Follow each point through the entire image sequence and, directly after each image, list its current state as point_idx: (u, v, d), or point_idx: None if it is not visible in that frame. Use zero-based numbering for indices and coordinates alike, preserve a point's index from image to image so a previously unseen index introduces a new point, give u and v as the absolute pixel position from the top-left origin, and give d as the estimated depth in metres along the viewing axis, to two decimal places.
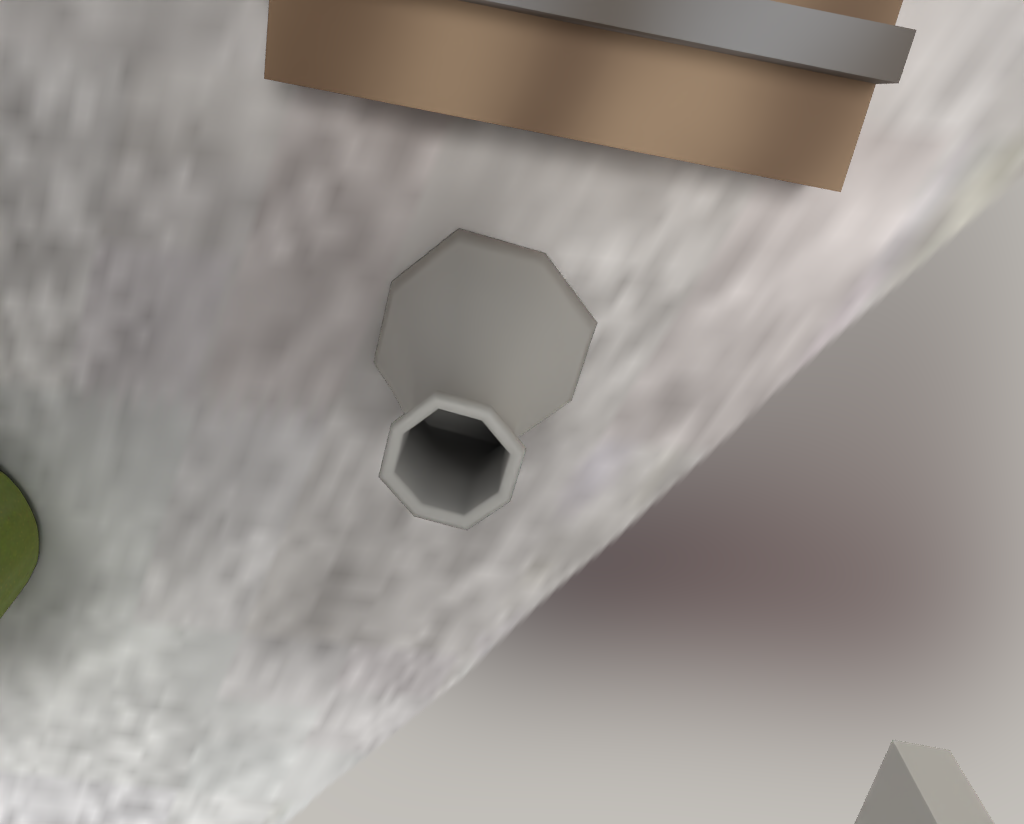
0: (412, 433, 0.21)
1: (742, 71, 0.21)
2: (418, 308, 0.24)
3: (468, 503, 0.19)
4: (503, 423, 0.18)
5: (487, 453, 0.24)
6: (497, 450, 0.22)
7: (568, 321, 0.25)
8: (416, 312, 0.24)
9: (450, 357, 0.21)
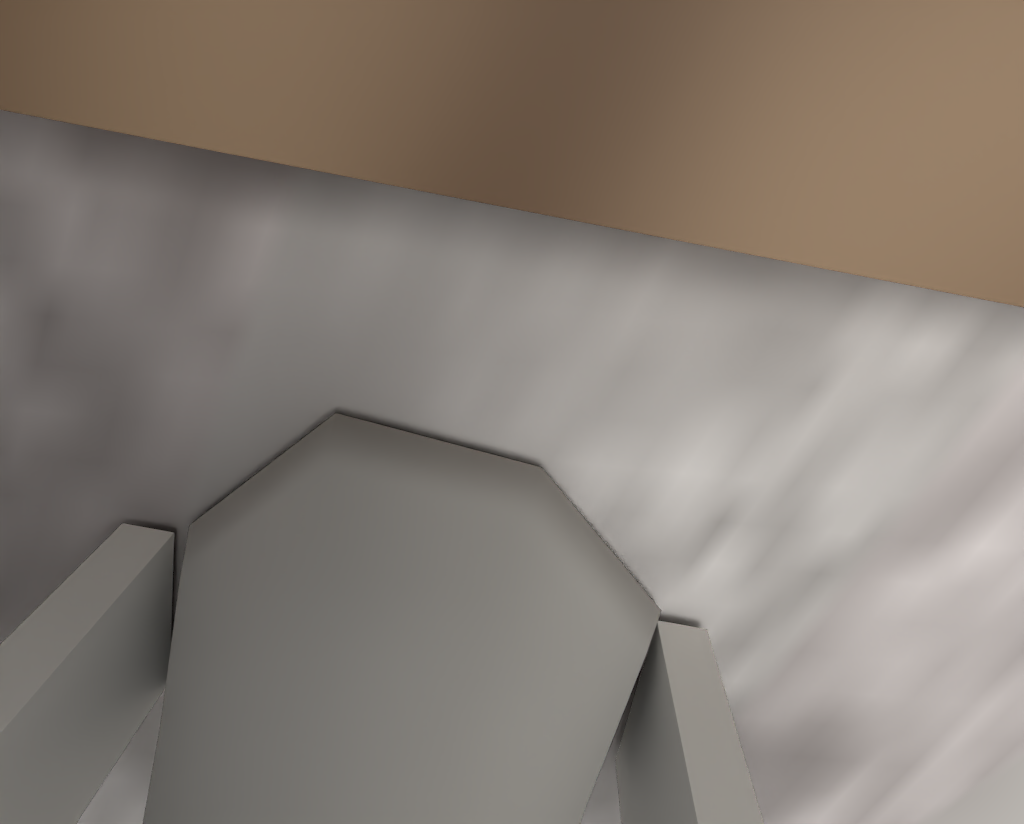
0: None
1: None
2: (201, 665, 0.09)
3: None
4: None
5: None
6: None
7: (599, 653, 0.10)
8: (194, 679, 0.09)
9: None
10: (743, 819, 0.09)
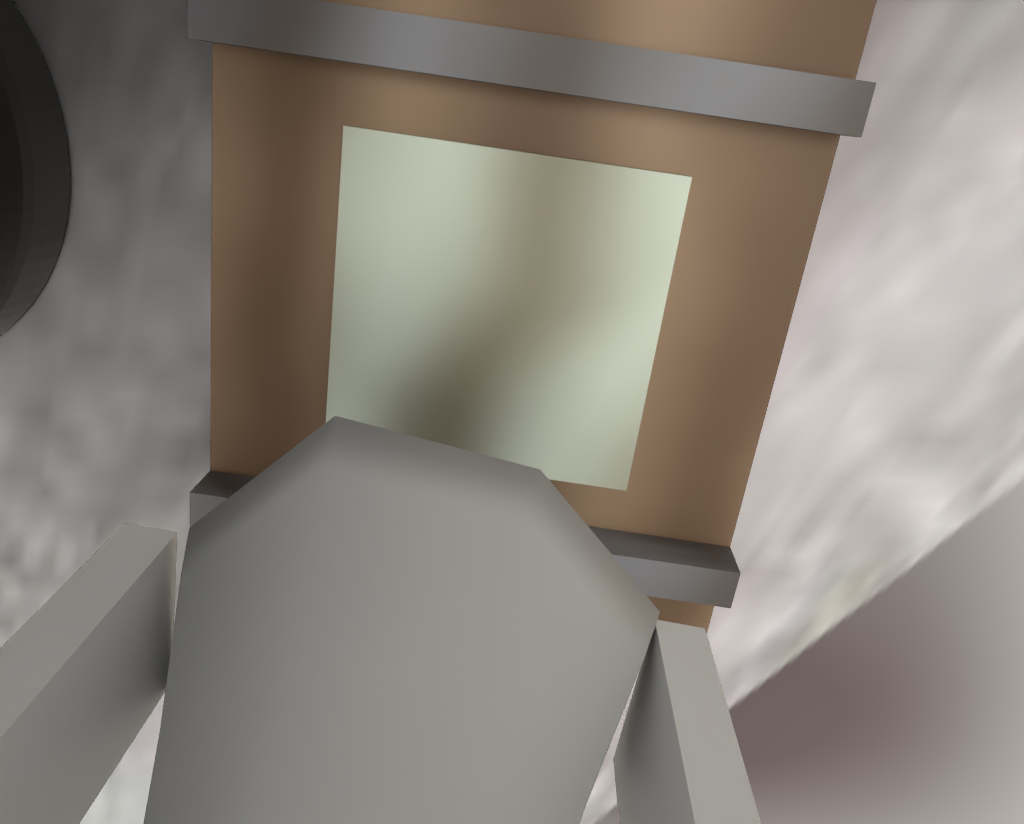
0: None
1: None
2: (201, 668, 0.09)
3: None
4: None
5: None
6: None
7: (598, 655, 0.10)
8: (194, 682, 0.09)
9: None
10: (739, 818, 0.09)
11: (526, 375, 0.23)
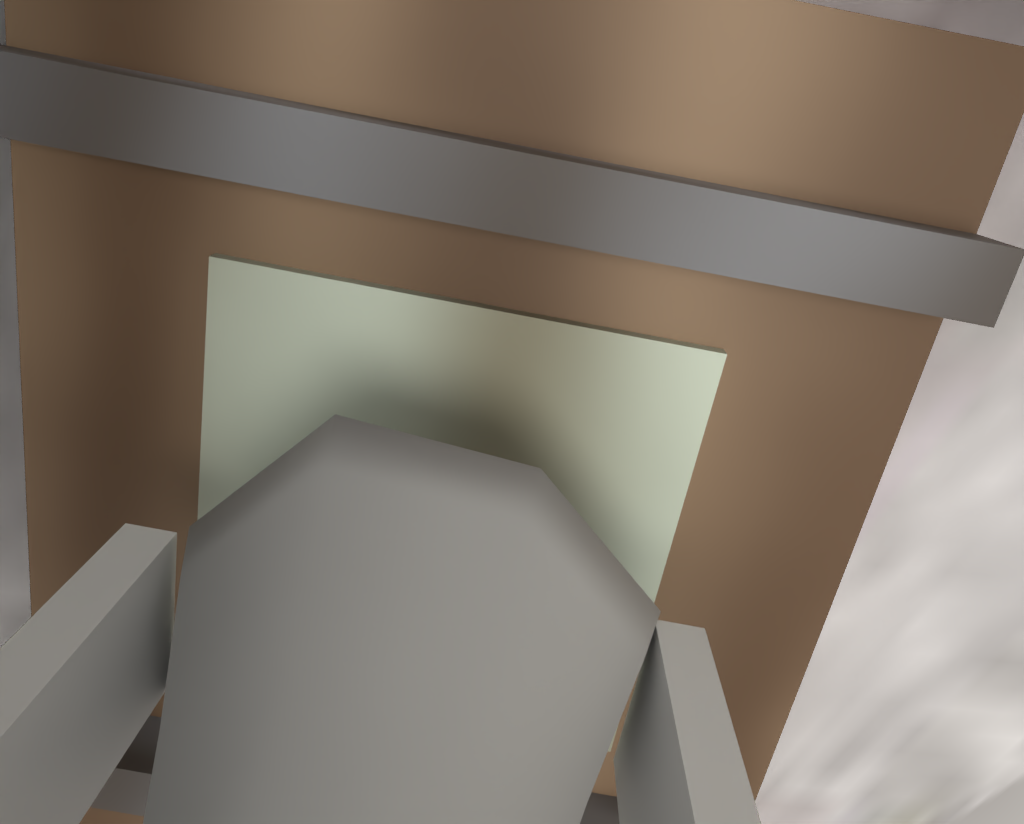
0: None
1: None
2: (201, 667, 0.09)
3: None
4: None
5: None
6: None
7: (598, 654, 0.10)
8: (194, 681, 0.09)
9: None
10: (740, 817, 0.09)
11: None
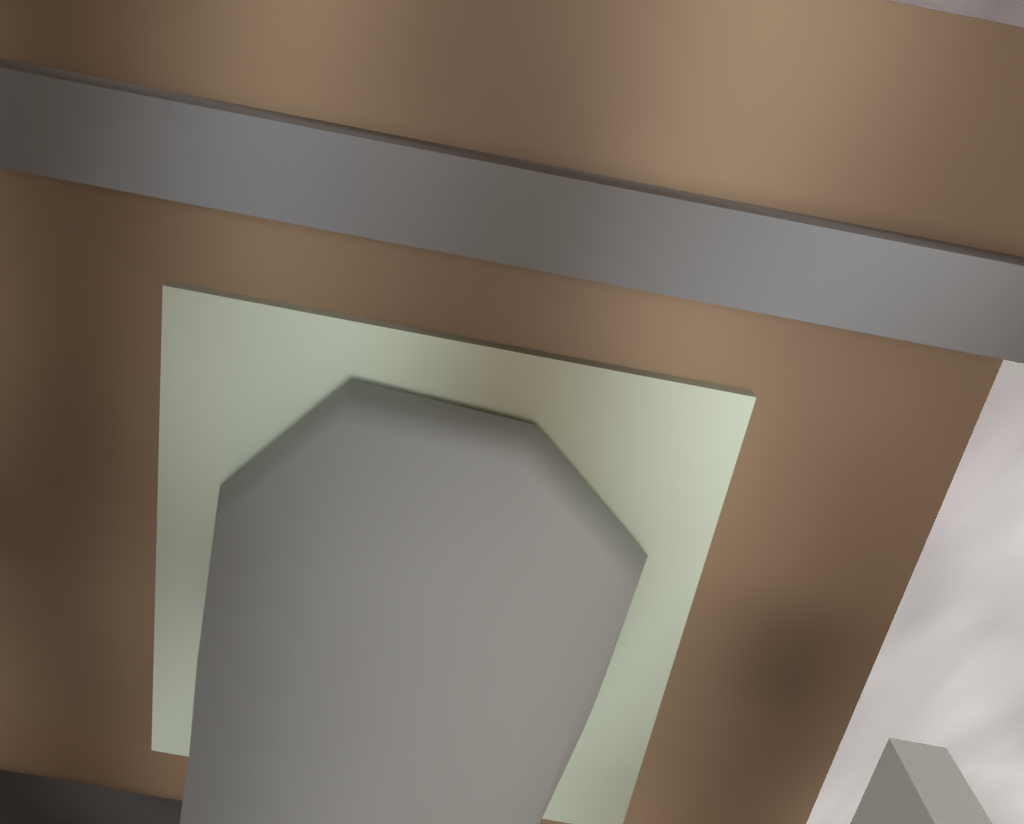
0: None
1: None
2: (238, 595, 0.10)
3: None
4: None
5: None
6: None
7: (590, 587, 0.11)
8: (232, 607, 0.10)
9: None
10: None
11: None
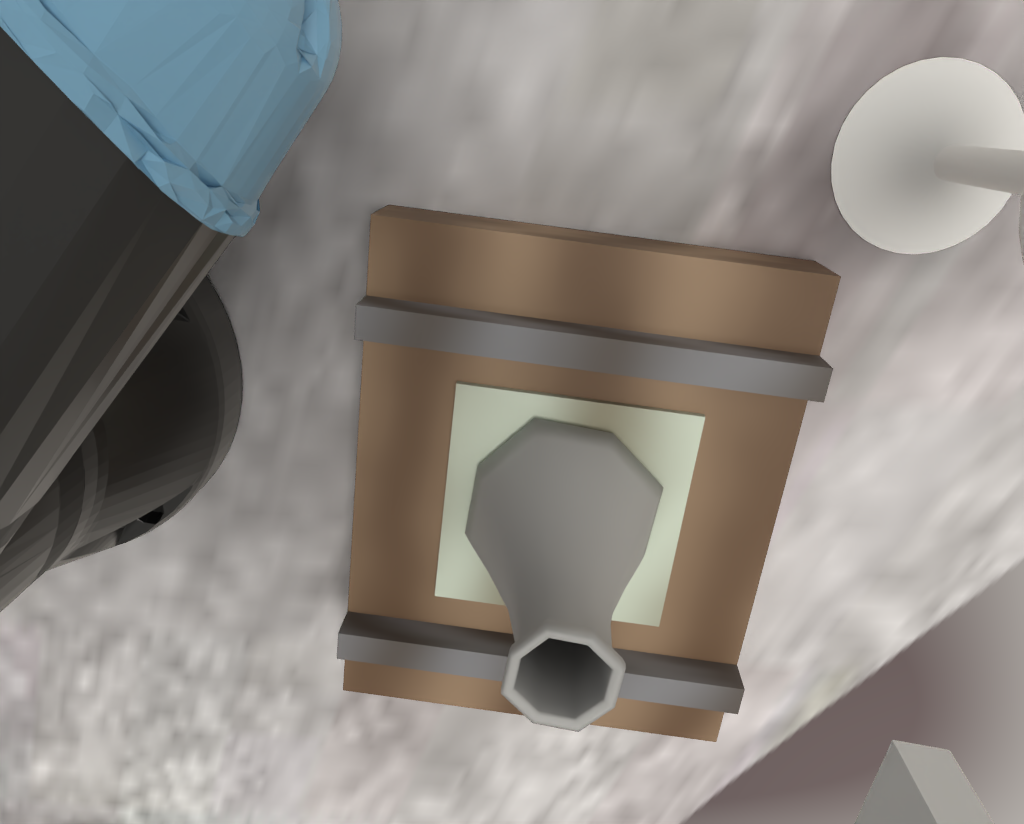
0: None
1: None
2: (508, 502, 0.27)
3: (577, 705, 0.22)
4: (605, 645, 0.21)
5: None
6: None
7: (639, 497, 0.28)
8: (506, 507, 0.27)
9: (547, 568, 0.24)
10: None
11: None
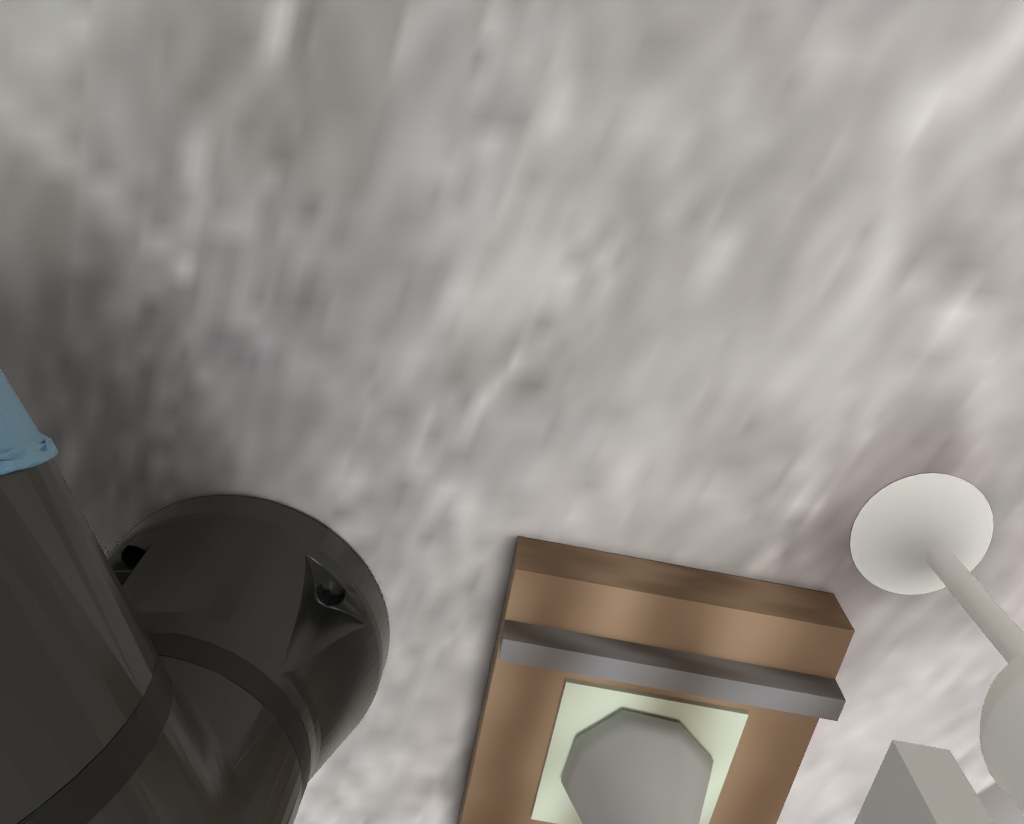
0: None
1: None
2: (606, 786, 0.37)
3: None
4: None
5: None
6: None
7: (699, 777, 0.38)
8: (605, 789, 0.37)
9: None
10: None
11: None
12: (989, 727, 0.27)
